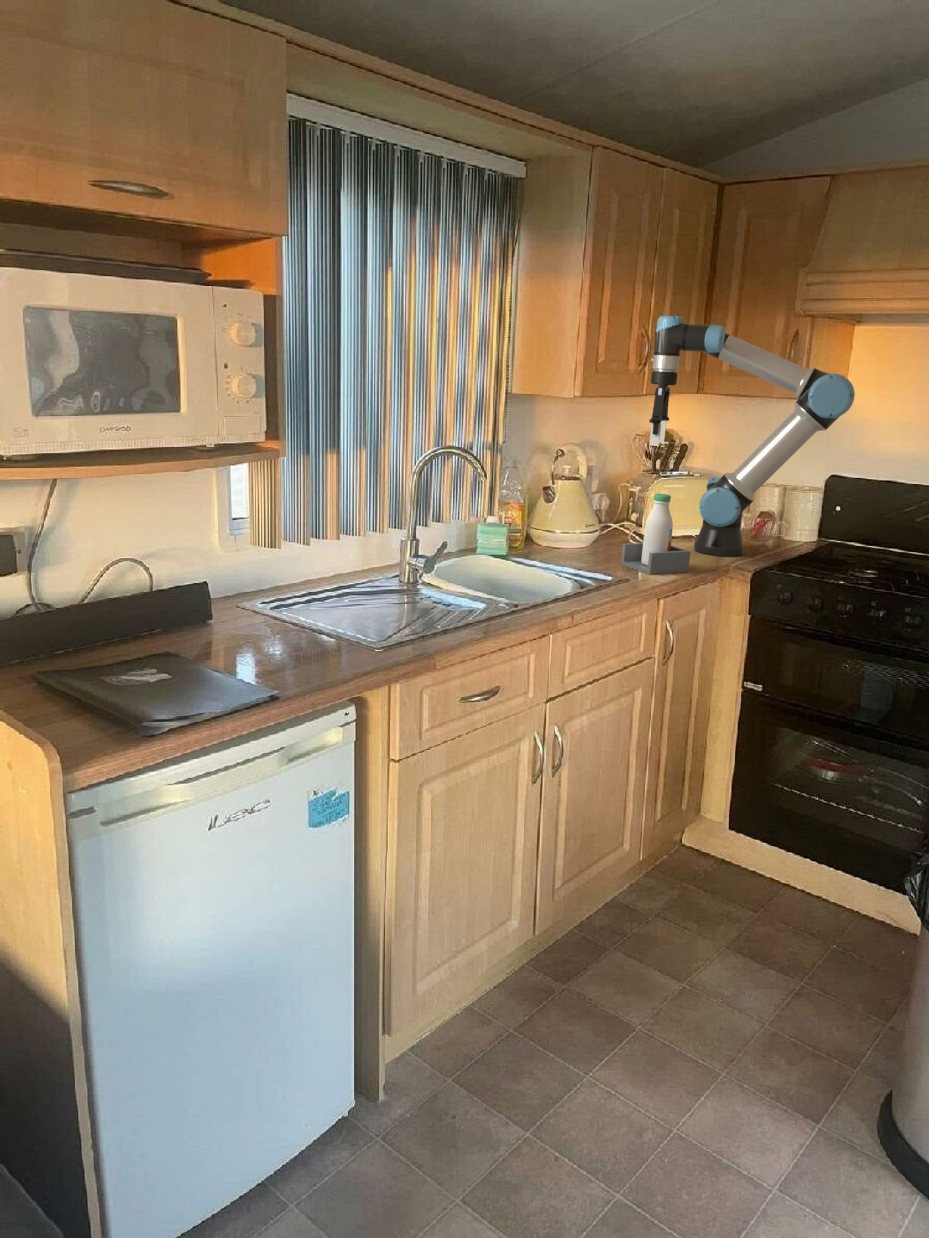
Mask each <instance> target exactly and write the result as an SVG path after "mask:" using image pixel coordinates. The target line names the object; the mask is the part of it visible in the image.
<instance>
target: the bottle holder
mask: <svg viewBox="0 0 929 1238" xmlns="http://www.w3.org/2000/svg"><path fill="white" fill-rule="evenodd" d="M642 549H643V542H633V543H632V542H631V543H622V549H621V550H622V551H621V558H620V559H621V560H620V565H622V566H624V567H627V568H630V569H632V568H633V570H635V571H638V572H641V573H644V574H646V573H647V574H646V575H649V574H656V575H666V574H667V573H668V574H667V575H669V574H683V573H689V567H690V557H691V550H687V549H684V548H681V547H678V546H674V545H672V544H671V549H670V552H652V553H649V562H648V566H647V565H644V564H642V562H641V559H642ZM664 573H666V574H664Z"/></svg>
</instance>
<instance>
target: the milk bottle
mask: <svg viewBox="0 0 929 1238" xmlns="http://www.w3.org/2000/svg"><path fill="white" fill-rule="evenodd" d="M671 498H672V497H671V495H670V494H666V493H655V494H654V495H653V506H652V509H651V511H650V512H649V514H648V516H647V518H646V520H645V526H644V532H643V533H644V534H643V541H642V543H643V549H642V559H641V562H642V564H644V565H647V566H648V562H649V553H652V552H670V549H671V545H672V538H673V526H674V525H673V523H674V522H673V518H672V515H671V512H670V503H671Z"/></svg>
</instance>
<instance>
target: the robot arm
mask: <svg viewBox="0 0 929 1238" xmlns="http://www.w3.org/2000/svg"><path fill="white" fill-rule="evenodd" d="M654 337H655V338H654V346H653V357H652V358H651V359H650V362H652V369H653V371H652V372H651V375H650V384H652V385H658V386H657V387H656V389H655V392H654V401H653V407H652V413H651V418H649V419H648V421H649V422H648V423H651V426H650V427H651V428H650V434H649V435H650V437H649V446H654V447H660V443H665V438H666V429H667V422H669V421H670V417H669V401H670V394H671V392H670V389H671V388H670V387H669V386H676V385H677V382H678V375H679V374H678V373H677V371H679V365H680V357H681V352H683V351H685V352H696V353H697V352H699V353H703V354H707V355H709V356H711V357H713V358H716V359H718V360H720V361H722V362H724V363H727V364H728V365H732V366H734V367H735V368H737V369H740V370H742V371H744V372H746V373H748V374H751V375H754V376H756V377H757V378H760V379H762V380H764V381H766V382H769V383H771V384H772V385H773V384H774V385H775V386H777V387H779V388H782V389H785V390H786V391H789V392H790V393H793V394H795V396H796V399H797V400H796V401H795V403H794V407H795V408H794V411H793V412H792V413H791V414H790V415H789V416H788V417H787V418H786V419H785V420H784V421H783V422H782V423H781V424H779V426H778V427H777V428H775V430H774V431H773V432H772V433H771V434H770V435H769V436H767V437H766V439H765V440H763V442H762V443H761V444H759V446H758V447H757V448H756V449H755V450H754V451H753V452H752V453H751V454H750V455H749V456H748V457H747V458H746V459H745V460H744V461H743V462H742V463H741V464H740V465H739V466H738V468H735V470H734V471H733V472H725V473H724V474H723V475H722V476H721V477H712V476H711V477H709V479H708V480H707V484H706V492H704V494H703V495H702V496H701V498H700V500H699V513H700V515H701V518H702V525H701V528H700V531H699V533H698V535H697V538H696V539H695V541H694V543H693V550H694V552H695V551H696V552H697V553H701V554H706V555H711V556H719V557H740V556H743V554H744V550H745V549H744V547H745V546H744V545H743V537H742V535H743V534H742V530H741V528H742V520H743V513H744V511H745V510H746V509H747V508H748V507H749V506H750V505H751V504H752V503H754V501H755V493H756V492H757V491H758V490H759V489H760V488H761V487H762V486H763V485H765V483H766V482H767V481H768V480H770V478H771V477H772V476H773V475H774V474H775V473H776V472H777V471H778V470H779V469H780V468H781V467H782V466H783V465H785V463H786V462H788V461H789V459H791V458H792V456H794V455H795V454H796V453H797V451H799V450H800V449H801V448H802V447H803V446H804V445H805V444H806V443H807V442H808V441H809V440H810V439H811V438H812V437H813V436H814V435H815V434H816V433H817V432H819V431H822V432H823V431H827V430H828V429H829V428H830V427H831V426H832V425H833V424H834V423H835V422H836V421H837V420H838V419H839V418H840V417H841V416H843V415H845V414H846V413H847V412H848V411H849V410H850V409H851V407H852V405H853V403H854V401H855V395H856V393H855V392H856V391H855V388H854V385H853V383H852V382H851V380H850V379H848V378H847V377H846V376H844V375H843V374H838V373H829V372H826V371H822V370H820V369H817V368H814V367H812V368H806V367H804V366H802V365H799V364H797V363H794V362H792V361H790V360H788V359H785V358H784V357H781V356H779V355H776V354H775V353H772V352H770V351H767V350H765V349H763V348H761V347H759V346H756V345H754V344H752V343H749V342H747V341H745V340H743V339H740V338H739V337H736V336H734V335H731V334H728V333H727V332H726V328H725V327H724V326H723V325H717V324H716V325H715V324H691V323H690V324H689V323H685V322H684V317H683V316H679V315H678V316H677V315H661V316H659V318H657V323H656V331H655V336H654Z"/></svg>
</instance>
